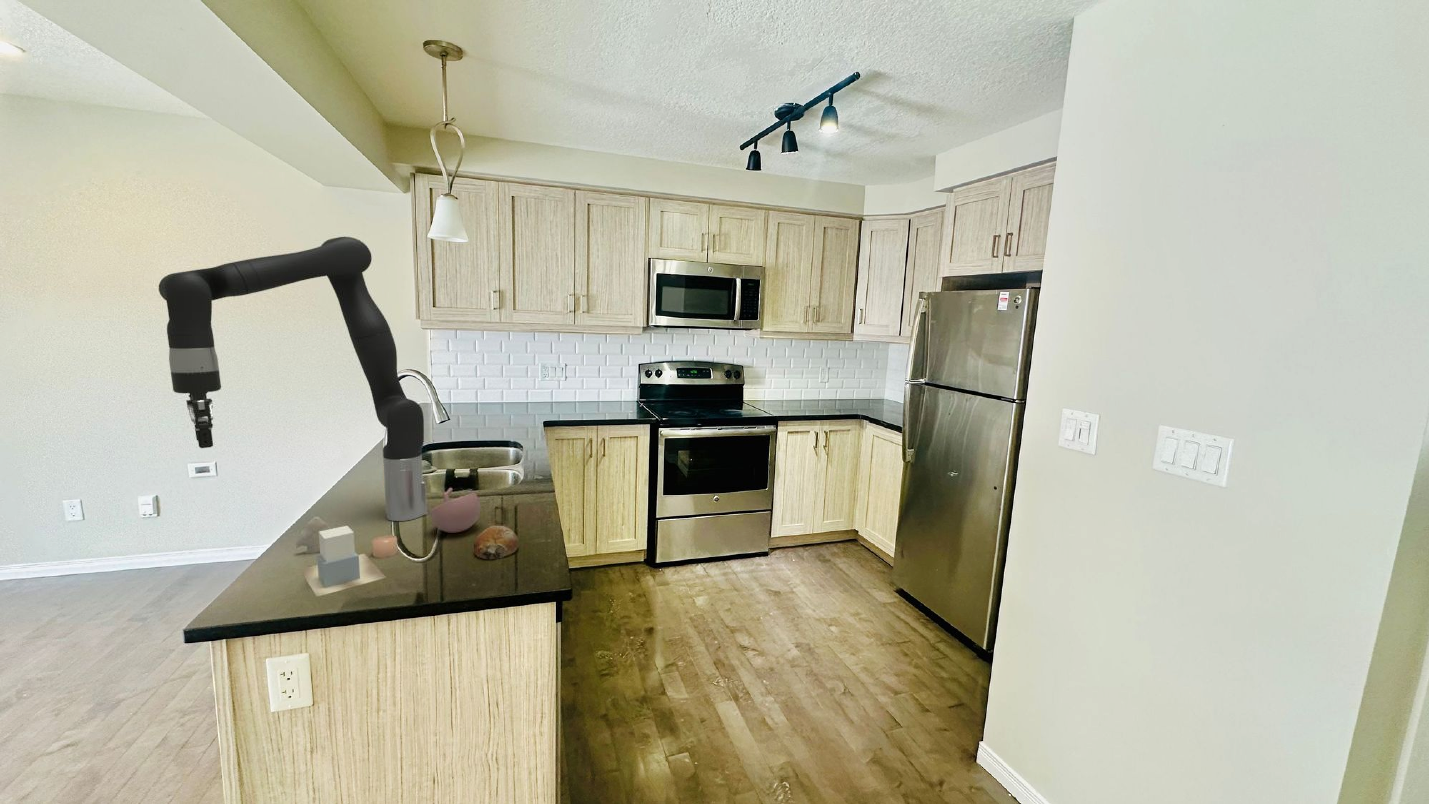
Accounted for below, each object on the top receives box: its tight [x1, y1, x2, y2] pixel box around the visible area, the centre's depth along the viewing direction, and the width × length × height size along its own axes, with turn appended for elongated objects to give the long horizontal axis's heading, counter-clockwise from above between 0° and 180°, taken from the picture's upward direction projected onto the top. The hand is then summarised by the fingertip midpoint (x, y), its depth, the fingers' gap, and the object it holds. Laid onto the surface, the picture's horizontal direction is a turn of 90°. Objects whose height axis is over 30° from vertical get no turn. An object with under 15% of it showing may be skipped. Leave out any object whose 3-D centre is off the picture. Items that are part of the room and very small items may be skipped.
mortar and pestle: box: [429, 487, 481, 534], centre depth 145 cm, size 12×12×11 cm
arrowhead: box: [295, 516, 331, 554], centre depth 127 cm, size 8×3×10 cm, turn 118°
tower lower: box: [316, 551, 360, 588], centre depth 115 cm, size 6×6×5 cm
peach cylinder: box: [372, 534, 398, 559], centre depth 127 cm, size 5×5×5 cm
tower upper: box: [319, 525, 356, 563], centre depth 114 cm, size 5×5×5 cm
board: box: [299, 553, 387, 598], centre depth 117 cm, size 12×16×2 cm
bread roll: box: [473, 525, 519, 560], centre depth 134 cm, size 10×10×8 cm
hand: (204, 443), depth 120 cm, fingers open, 8 cm apart
